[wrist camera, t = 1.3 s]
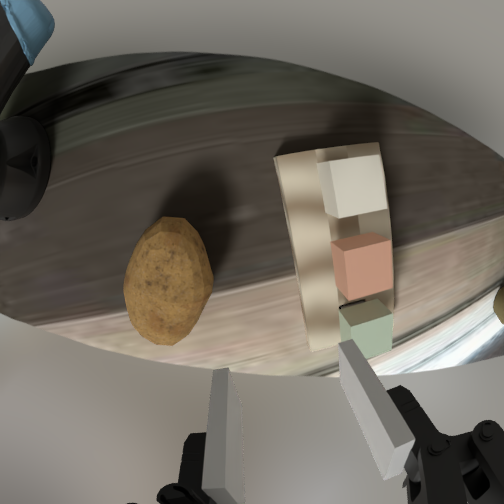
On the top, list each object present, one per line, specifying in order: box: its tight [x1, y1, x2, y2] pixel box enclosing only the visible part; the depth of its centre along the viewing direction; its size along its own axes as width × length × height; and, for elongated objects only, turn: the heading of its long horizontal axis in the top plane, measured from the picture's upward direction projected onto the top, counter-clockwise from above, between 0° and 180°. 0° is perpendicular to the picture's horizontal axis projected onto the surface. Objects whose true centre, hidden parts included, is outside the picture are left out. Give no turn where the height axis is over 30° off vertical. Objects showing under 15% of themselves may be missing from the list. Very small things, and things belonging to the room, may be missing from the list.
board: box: [274, 142, 394, 352], centre depth 32 cm, size 24×12×2 cm, turn 12°
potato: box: [124, 217, 214, 346], centre depth 29 cm, size 10×14×8 cm
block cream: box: [316, 155, 387, 218], centre depth 26 cm, size 5×5×6 cm
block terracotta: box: [330, 232, 393, 301], centre depth 28 cm, size 5×5×6 cm
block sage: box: [339, 299, 393, 359], centre depth 30 cm, size 5×5×6 cm
